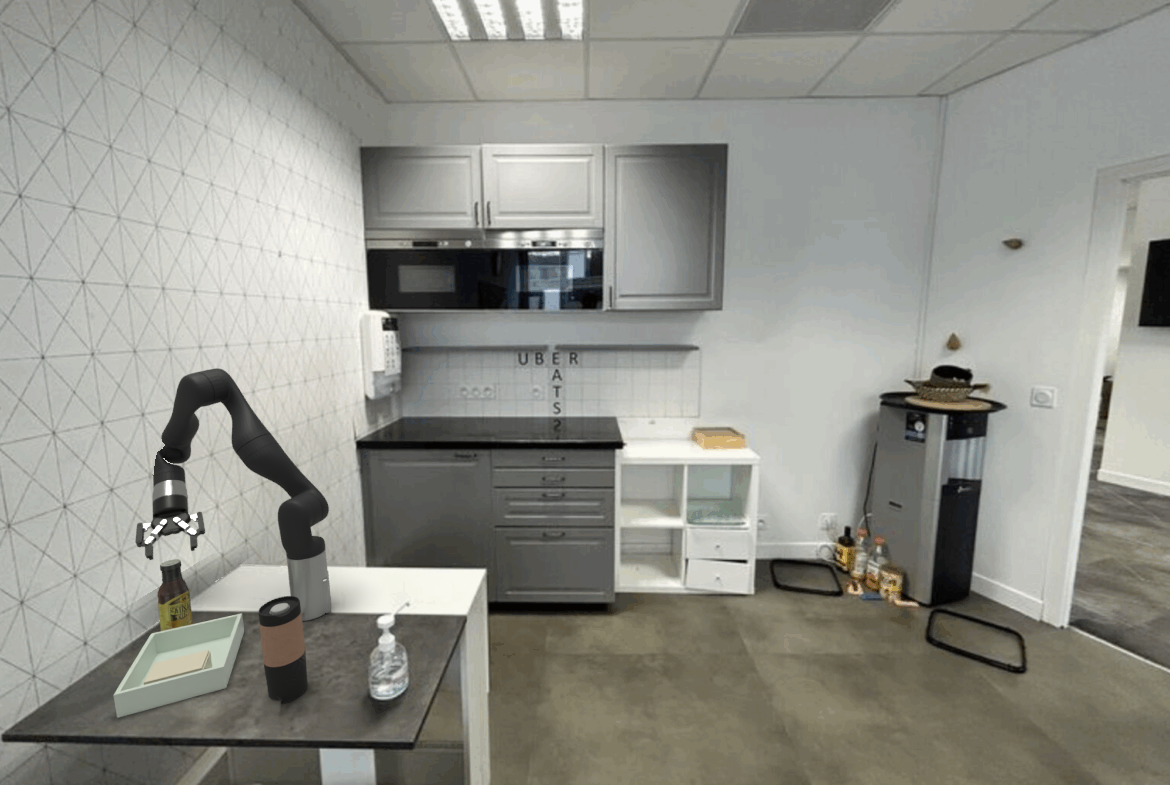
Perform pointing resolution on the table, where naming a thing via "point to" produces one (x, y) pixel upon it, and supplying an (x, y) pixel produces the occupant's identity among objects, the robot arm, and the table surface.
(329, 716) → the table surface
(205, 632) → the tote
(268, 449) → the robot arm
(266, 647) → the travel mug
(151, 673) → the beige lidded box
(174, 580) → the sauce bottle
